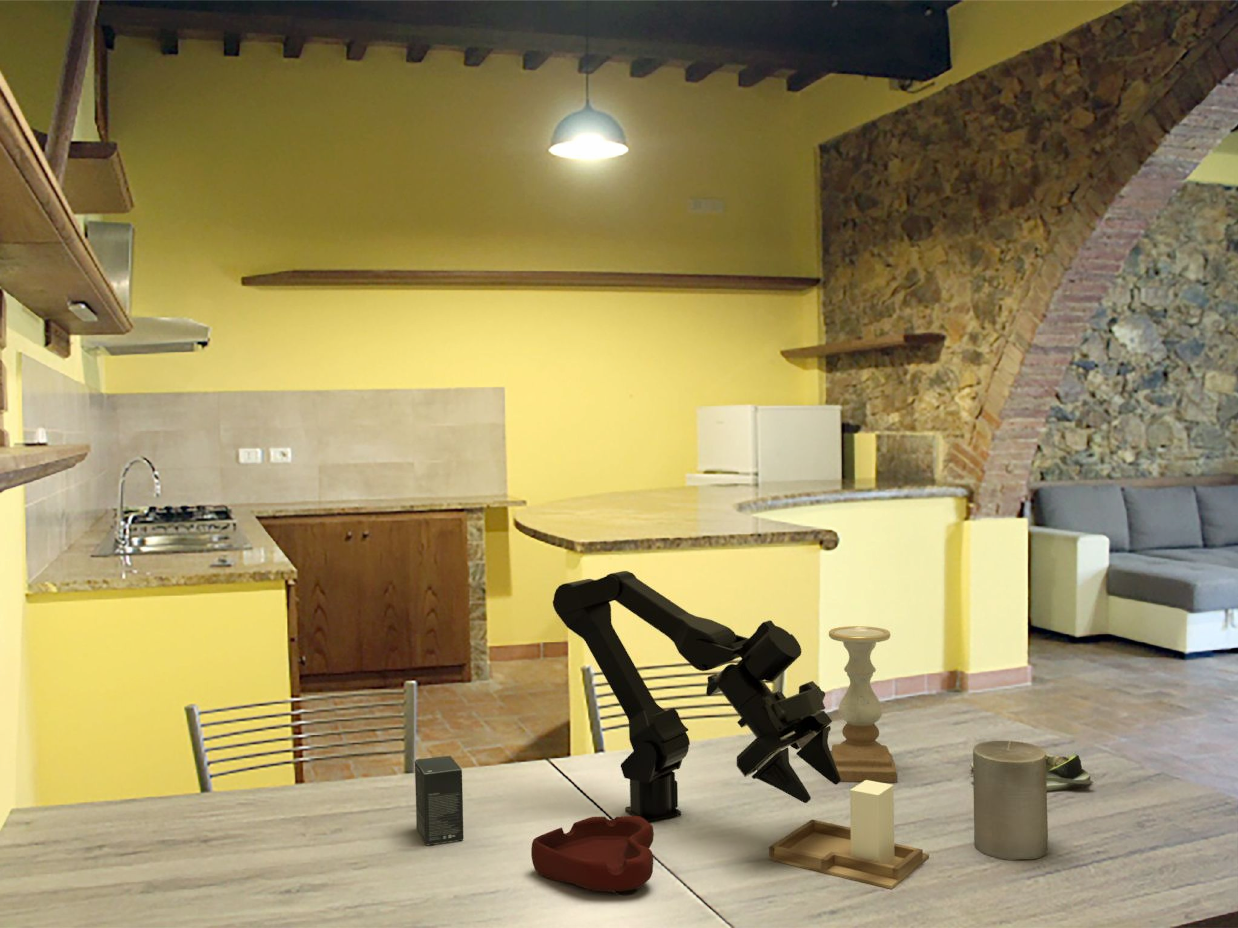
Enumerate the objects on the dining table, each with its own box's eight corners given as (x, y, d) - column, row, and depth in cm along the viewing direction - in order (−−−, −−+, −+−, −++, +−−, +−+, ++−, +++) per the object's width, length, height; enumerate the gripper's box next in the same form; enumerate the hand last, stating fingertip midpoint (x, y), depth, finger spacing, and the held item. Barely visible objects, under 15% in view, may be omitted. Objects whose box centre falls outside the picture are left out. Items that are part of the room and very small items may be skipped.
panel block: (851, 863, 153) (850, 789, 153) (866, 851, 157) (865, 779, 157) (879, 870, 151) (878, 795, 150) (894, 857, 155) (893, 784, 154)
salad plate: (994, 801, 178) (994, 772, 178) (944, 768, 196) (943, 741, 196) (1109, 792, 181) (1109, 763, 181) (1049, 760, 199) (1049, 733, 199)
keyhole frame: (769, 859, 156) (769, 846, 156) (811, 831, 166) (811, 819, 166) (891, 888, 146) (891, 874, 146) (929, 857, 156) (928, 843, 156)
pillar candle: (994, 829, 166) (992, 726, 165) (1060, 846, 159) (1058, 739, 158) (960, 849, 159) (958, 742, 158) (1028, 867, 152) (1026, 755, 151)
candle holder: (826, 761, 200) (824, 625, 199) (891, 762, 198) (889, 625, 197) (829, 781, 189) (827, 637, 188) (897, 782, 187) (896, 637, 186)
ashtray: (539, 849, 162) (538, 814, 162) (654, 848, 162) (653, 813, 162) (524, 902, 145) (523, 863, 144) (653, 902, 144) (652, 862, 144)
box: (464, 840, 166) (462, 768, 165) (425, 846, 164) (423, 773, 163) (453, 823, 173) (451, 753, 173) (415, 828, 171) (413, 758, 171)
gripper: (755, 679, 153) (831, 776, 147) (819, 654, 168) (890, 741, 162) (705, 728, 158) (777, 824, 152) (771, 699, 173) (839, 785, 167)
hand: (823, 791), depth 158 cm, fingers open, 9 cm apart
